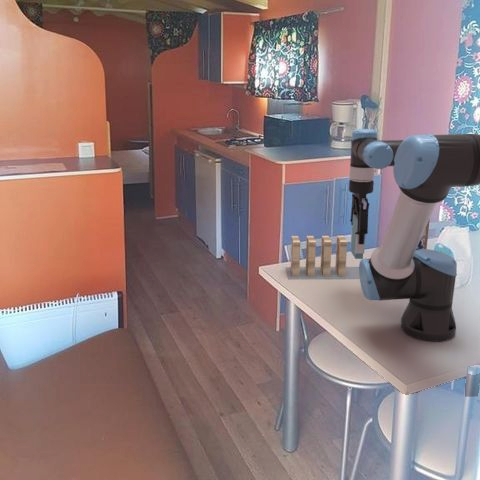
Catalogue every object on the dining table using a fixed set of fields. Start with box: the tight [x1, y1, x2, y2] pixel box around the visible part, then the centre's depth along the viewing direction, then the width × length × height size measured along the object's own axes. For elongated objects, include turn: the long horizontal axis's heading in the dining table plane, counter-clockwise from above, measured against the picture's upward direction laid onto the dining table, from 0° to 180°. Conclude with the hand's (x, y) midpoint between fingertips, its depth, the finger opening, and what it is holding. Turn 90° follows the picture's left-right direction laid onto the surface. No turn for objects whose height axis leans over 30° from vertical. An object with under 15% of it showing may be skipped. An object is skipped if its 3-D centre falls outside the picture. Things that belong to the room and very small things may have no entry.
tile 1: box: [290, 235, 301, 277], centre depth 202 cm, size 7×2×13 cm, turn 0°
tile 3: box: [319, 235, 333, 276], centre depth 202 cm, size 7×2×13 cm, turn 0°
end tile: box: [350, 214, 364, 260], centre depth 180 cm, size 7×2×13 cm, turn 1°
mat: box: [284, 266, 360, 280], centre depth 204 cm, size 12×32×1 cm, turn 90°
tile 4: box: [334, 235, 348, 276], centre depth 202 cm, size 7×2×13 cm, turn 0°
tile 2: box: [305, 235, 317, 277], centre depth 202 cm, size 7×2×13 cm, turn 0°
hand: (357, 249), depth 182 cm, fingers closed on end tile, 7 cm apart
